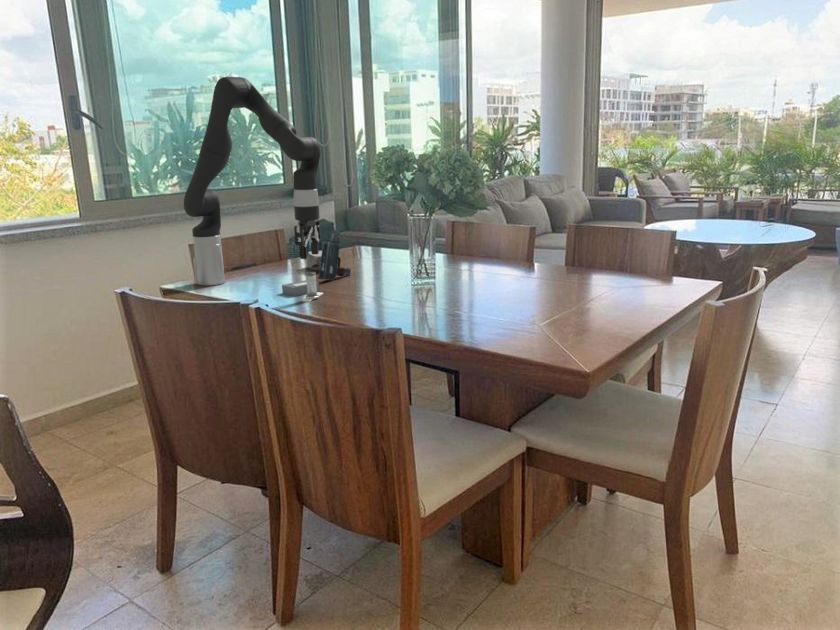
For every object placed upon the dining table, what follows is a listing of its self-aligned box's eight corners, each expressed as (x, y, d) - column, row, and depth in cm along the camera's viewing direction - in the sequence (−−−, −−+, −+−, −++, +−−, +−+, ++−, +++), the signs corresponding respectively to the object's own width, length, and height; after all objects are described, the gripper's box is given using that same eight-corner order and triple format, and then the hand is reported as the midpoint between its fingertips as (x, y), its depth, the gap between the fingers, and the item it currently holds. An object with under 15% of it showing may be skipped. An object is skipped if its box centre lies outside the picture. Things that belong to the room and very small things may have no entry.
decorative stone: (321, 265, 263) (299, 268, 257) (321, 248, 261) (299, 250, 256) (340, 271, 252) (317, 273, 246) (340, 253, 250) (317, 255, 244)
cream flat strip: (302, 301, 203) (302, 300, 203) (316, 293, 213) (316, 292, 213) (309, 301, 202) (309, 300, 202) (323, 293, 212) (323, 292, 212)
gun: (355, 237, 239) (328, 231, 227) (350, 282, 240) (322, 279, 228) (350, 237, 241) (322, 231, 228) (344, 281, 242) (317, 278, 229)
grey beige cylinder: (303, 298, 204) (302, 273, 202) (309, 295, 208) (307, 271, 206) (315, 299, 203) (313, 274, 201) (320, 296, 207) (319, 271, 205)
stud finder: (282, 294, 215) (281, 284, 214) (307, 289, 221) (307, 279, 220) (294, 297, 210) (293, 287, 209) (319, 292, 216) (319, 282, 216)
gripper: (307, 206, 191) (311, 261, 195) (327, 202, 204) (329, 253, 208) (284, 206, 193) (288, 260, 197) (305, 201, 206) (308, 252, 210)
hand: (309, 256), depth 203 cm, fingers open, 8 cm apart
